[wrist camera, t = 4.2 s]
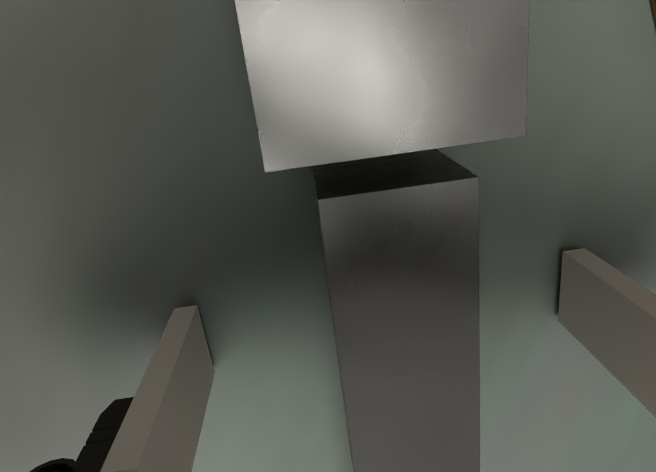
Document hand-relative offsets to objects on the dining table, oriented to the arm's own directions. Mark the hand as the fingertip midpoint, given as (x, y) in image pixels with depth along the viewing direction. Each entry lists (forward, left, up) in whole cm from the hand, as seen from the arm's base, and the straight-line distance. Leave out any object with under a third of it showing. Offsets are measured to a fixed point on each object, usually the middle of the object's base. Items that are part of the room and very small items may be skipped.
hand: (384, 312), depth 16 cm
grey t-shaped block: (-1, 0, 0) cm, 1 cm away
